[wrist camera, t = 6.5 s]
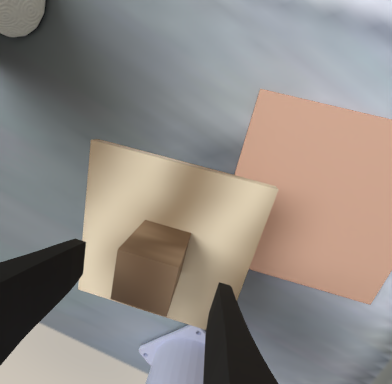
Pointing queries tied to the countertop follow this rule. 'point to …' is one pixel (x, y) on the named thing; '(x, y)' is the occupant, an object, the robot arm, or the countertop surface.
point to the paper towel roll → (20, 16)
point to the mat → (322, 194)
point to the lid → (168, 231)
